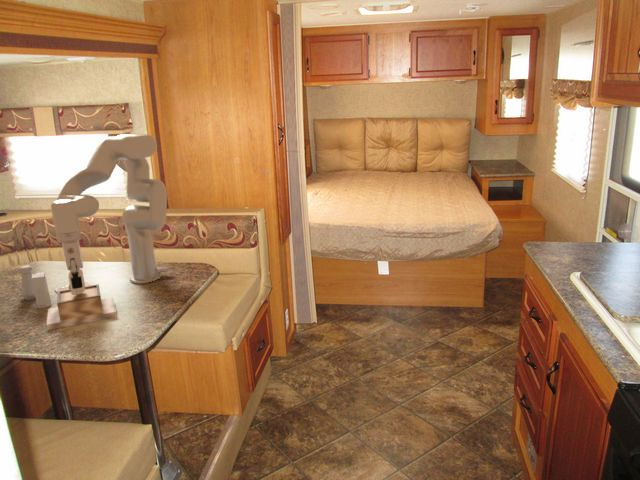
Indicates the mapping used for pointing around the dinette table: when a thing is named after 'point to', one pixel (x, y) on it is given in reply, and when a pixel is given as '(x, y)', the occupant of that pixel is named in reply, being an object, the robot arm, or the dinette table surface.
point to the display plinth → (80, 320)
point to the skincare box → (41, 290)
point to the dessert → (68, 287)
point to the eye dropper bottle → (77, 290)
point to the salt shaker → (27, 283)
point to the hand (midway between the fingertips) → (77, 284)
